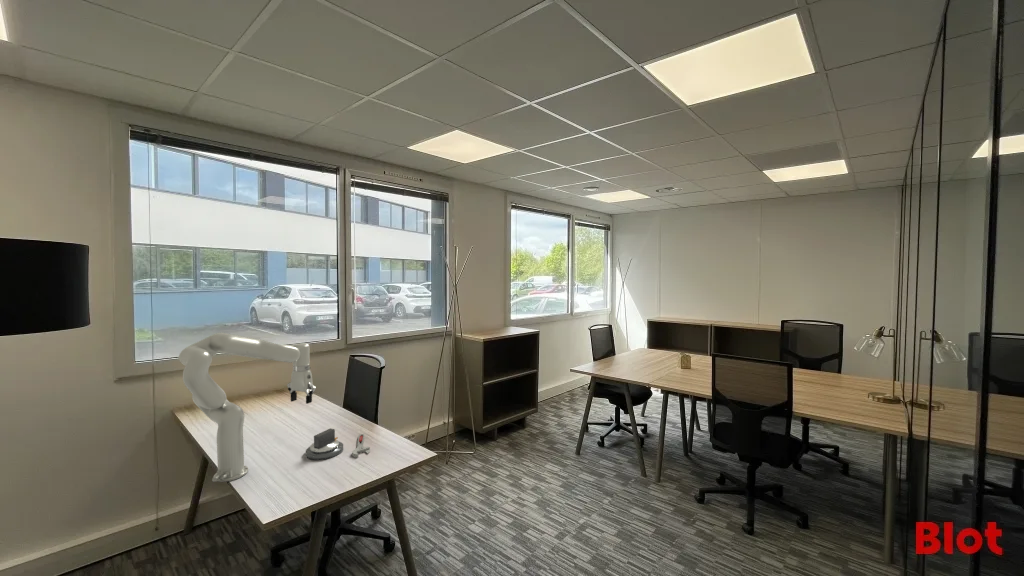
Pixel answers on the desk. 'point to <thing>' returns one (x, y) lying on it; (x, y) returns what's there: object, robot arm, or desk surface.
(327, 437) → the dial
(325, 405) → the desk surface
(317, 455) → the dial base
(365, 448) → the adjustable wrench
